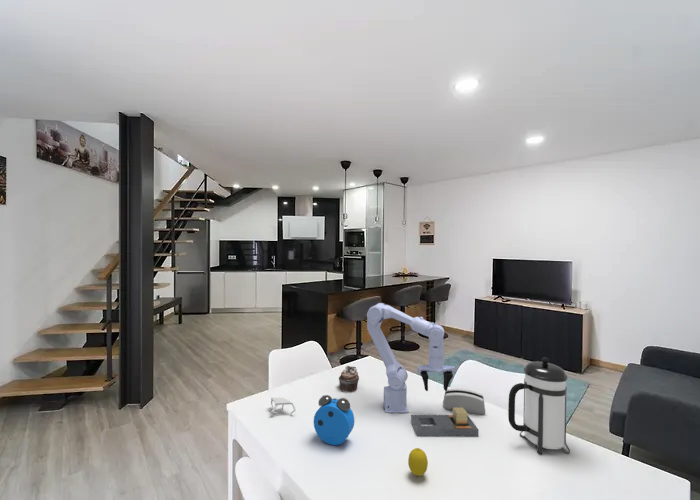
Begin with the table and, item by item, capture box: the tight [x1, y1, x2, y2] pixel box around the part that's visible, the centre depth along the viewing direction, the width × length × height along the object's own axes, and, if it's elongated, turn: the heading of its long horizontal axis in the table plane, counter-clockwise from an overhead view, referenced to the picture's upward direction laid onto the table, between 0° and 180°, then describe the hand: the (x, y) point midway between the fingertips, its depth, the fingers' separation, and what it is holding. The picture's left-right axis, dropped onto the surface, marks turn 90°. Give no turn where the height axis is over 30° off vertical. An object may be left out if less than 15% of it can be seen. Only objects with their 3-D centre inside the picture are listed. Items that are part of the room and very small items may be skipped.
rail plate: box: [410, 414, 479, 437], centre depth 119 cm, size 22×10×3 cm, turn 91°
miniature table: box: [270, 397, 297, 418], centre depth 128 cm, size 12×8×5 cm
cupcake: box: [338, 365, 360, 393], centre depth 152 cm, size 10×10×10 cm
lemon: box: [407, 447, 429, 477], centre depth 94 cm, size 6×6×8 cm
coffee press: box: [507, 356, 571, 456], centre depth 110 cm, size 17×16×30 cm
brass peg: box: [452, 408, 468, 426], centre depth 119 cm, size 4×4×7 cm
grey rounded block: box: [442, 388, 486, 415], centre depth 133 cm, size 17×5×10 cm, turn 73°
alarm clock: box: [313, 394, 355, 446], centre depth 110 cm, size 13×6×15 cm, turn 70°
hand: (435, 390), depth 128 cm, fingers open, 7 cm apart
